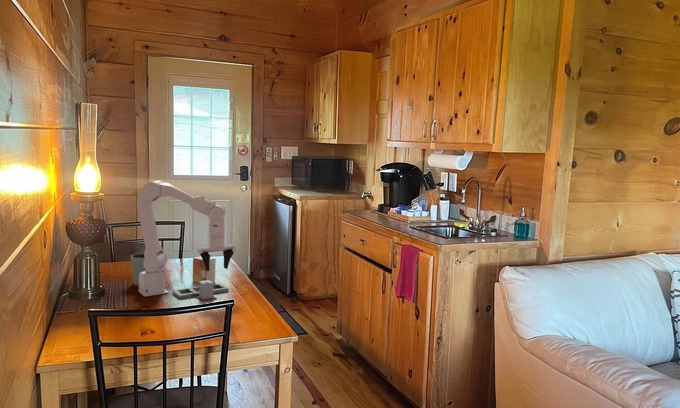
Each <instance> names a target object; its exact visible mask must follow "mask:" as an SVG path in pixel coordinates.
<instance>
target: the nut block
mask: <svg viewBox="0 0 680 408" xmlns="http://www.w3.org/2000/svg"><path fill="white" fill-rule="evenodd" d="M198 284H199V285H198V286H199V291H198V292H199V297H201V298H202V299H209V298H213V296H214V294H213V284H214V282H212V281H210V280H206V281H199V283H198Z"/></svg>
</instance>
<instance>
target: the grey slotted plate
mask: <svg viewBox="0 0 680 408" xmlns="http://www.w3.org/2000/svg"><path fill="white" fill-rule="evenodd" d="M229 290H230V289H229V287H228V286H226V285H224V284H222V283H218V282H217V283H213V295H215V294H222V293H228V292H229ZM171 293H172V295H173V296H175V297H176V298H177V299H178V300H184V299H190V298H196V296H199V285H198V286H192V287H185V288H179V289H178V288H177V289H172V292H171Z"/></svg>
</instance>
